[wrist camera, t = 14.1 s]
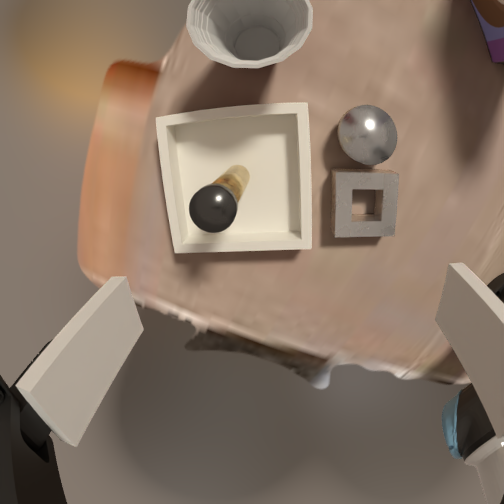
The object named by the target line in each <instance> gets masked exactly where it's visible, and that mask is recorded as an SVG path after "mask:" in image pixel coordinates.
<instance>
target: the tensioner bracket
mask: <svg viewBox="0 0 504 504" xmlns="http://www.w3.org/2000/svg"><path fill="white" fill-rule="evenodd" d="M337 134H338V140H339V143H340V146H341V148H342V149H343V151H344V152H345V153H346V154H347V155H348V156H349V157H350V158H352V159H353V160H355V161H357V162H359V163H362V164H366V165H376V164H379V163H382V162H384V161H385V160H387V159H388V158H389V157H390V156H391V155H392V153H393V152H394V150H395V147H396V144H397V131H396V127H395V124H394V122H393V120H392V119H391V118H390V116H389V115H388V114H387V113H386V112H385V111H383V110H382V109H380V108H378V107H375V106H371V105H362V106H357V107H354V108H352V109H350V110H348V111H347V112H346V113H345V114H344V115H343V116H342V118H341V120H340V122H339V125H338V132H337ZM398 183H399V174H398V173H396V172H394V171H391V170H379V169H331V230H332V232H333V235H334V237H374V236H394V234H395V224H396V213H397V200H398ZM352 189H376V192H375V212H374V214H352Z"/></svg>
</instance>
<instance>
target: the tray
mask: <svg viewBox="0 0 504 504" xmlns="http://www.w3.org/2000/svg"><path fill="white" fill-rule="evenodd" d="M156 128H157V137H158V146H159V155H160V163H161V170H162V178H163V185H164V192H165V198H166V205H167V211H168V217H169V223H170V229H171V235H172V240H173V246H174V251H175V253H201V252H232V251H264V250H296V249H312V194H311V156H310V133H309V115H308V103H272V104H255V105H242V106H232V107H222V108H214V109H206V110H198V111H192V112H185V113H179V114H173V115H168V116H162V117H157V118H156ZM233 165H241V166H244V167H245V168H246V169H247V170H248V172H249V175H250V179H249V182H248V184H247V186H246V188H245V190H244V192H243V194H242V196H241V198H240V200H239V202H238V211H237V214H236V217H235V219H234V221H233V223H232V224H231V225H230V227H228V228H227V229H226V230H224V231H222V232H218V233H209V232H206V231H203V230H201V229H200V228H198V227H197V226H196V225H195V224H194V223H193V221H192V219H191V217H190V214H189V203H190V200H191V198H192V197H193V195H194V194H195V193H196V192H197V191H198V190H200V189H201V188H202V187H204V186H206V185H208V184H212V183H213V182H214V181H215V180H216V179H217V178H218V177H219V176H221V175H222V174H223V173H224V172H225V171H226V170H227V169H229V168H230V167H231V166H233Z"/></svg>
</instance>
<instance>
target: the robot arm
mask: <svg viewBox="0 0 504 504" xmlns="http://www.w3.org/2000/svg"><path fill="white" fill-rule="evenodd" d="M435 320H436V322H437V324H438V325H439V327H440V328H441V330H442V332H443V333H444V335H445V336H446V338H447V340H448V341H449V343H450V345H451V347H452V348H453V350H454V352H455V353H456V355H457V357H458V359H459V360H460V362H461V364H462V366H463V368H464V369H465V371H466V373H467V375H468V377H469V379H470V381H471V382H472V383H471V384H469V385H468V386H467V387H466V388H464V389H462V390H460V391H459V393H458V394H457V395H456V396H455V397H453V398H452V399H451V400H450V401H448V402H447V403H446V405H445V406H444V409H443V412H442V427H443V432H444V436H445V440H446V443H447V445H448V446H449V450H450V453H451V454H452V456H453V457H454V458H455V459H462V458H463V459H464V462H465V464H467V465H471V466H475V467H476V469H477V472H478V475H479V479H480V482H481V485H482V489H483V492H484V496H485V499H486V504H504V273H503V274H501V275H500V276H498V277H497V278H496V279H494V280H493V281H492V282H491V283H490V284H489V285H488V286H486V285H485V284H484V283H483V282H482V281H481V280H480V279H479V278H478V277H477V276H476V275H475V274H474V273H473V272H472V271H471V270H470V269H469V268H468V267H467V266H466V265H465V264H464V263H452V264H449V266H448V271H447V275H446V280H445V284H444V288H443V292H442V296H441V300H440V304H439V308H438V311H437V315H436V318H435ZM143 330H144V329H143V326H142V323H141V321H140V318H139V315H138V312H137V309H136V306H135V303H134V300H133V297H132V293H131V290H130V287H129V284H128V280H127V277H111V278H110V279H109V280H108V281H107V282H106V283H105V284H104V285H103V286H102V287H101V288H100V289H99V291H97V292H96V293H95V295H94V296H93V297H92V298H91V299H90V300H89V301H88V302H87V303H86V304H85V305H84V306H83V307H82V308H81V309H80V310H79V311H78V313H77V314H76V315H75V316H74V317H73V318H72V319H71V320H70V321H69V322H68V323H67V325H66V326H65V327H64V328H63V329H62V330H61V331H60V333H58V335H57V336H56V337H55V338H54V339H52V340H51V341H50V342H48V343H47V344H46V345H45V346H44V347H43V348H42V350H41V351H40V352H39V354H37V356H36V357H35V358H34V359H33V362H31V363H30V364H29V365H28V366H27V368H26V369H25V370H24V371H23V373H22V374H21V375H20V376H19V378H18V379H17V380H16V381H15V383H14V384H13V385H12V386H11V387H10V388H9V387H8V385H7V384H6V383H5V381H4V380H3V378H2V377H1V375H0V504H67V502H66V498H65V495H64V491H63V487H62V483H61V479H60V475H59V471H58V466H57V461H56V456H55V451H54V445H53V441H52V439H51V437H50V436H49V434H50V432H51V430H52V431H53V432H54V434H55V435H56V436H57V437H58V438H59V439H60V440H61V441H64V442H66V443H68V444H71V445H73V446H75V447H77V445H78V443H79V441H80V440H81V437H82V436H83V434H84V432H85V430H86V428H87V426H88V424H89V422H90V421H91V419H92V417H93V415H94V414H95V412H96V410H97V408H98V406H99V405H100V403H101V401H102V399H103V397H104V396H105V394H106V392H107V390H108V389H109V387H110V385H111V383H112V382H113V380H114V378H115V376H116V375H117V373H118V371H119V369H120V368H121V366H122V365H123V363H124V361H125V359H126V358H127V356H128V354H129V353H130V351H131V350H132V348H133V346H134V344H135V343H136V341H137V340H138V338H139V336H140V335H141V333H142V332H143Z"/></svg>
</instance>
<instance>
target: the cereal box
mask: <svg viewBox="0 0 504 504" xmlns="http://www.w3.org/2000/svg"><path fill="white" fill-rule="evenodd" d="M470 1H471V3H472V6H473V8H474V11H475V13H476V15H477V18H478V21H479V23H480V26H481V29H482V31H483V34H484V37H485V40H486V43H487V46H488V50H489V53H490V56H491V60H492V62H494V63H500V64H504V0H470Z"/></svg>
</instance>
